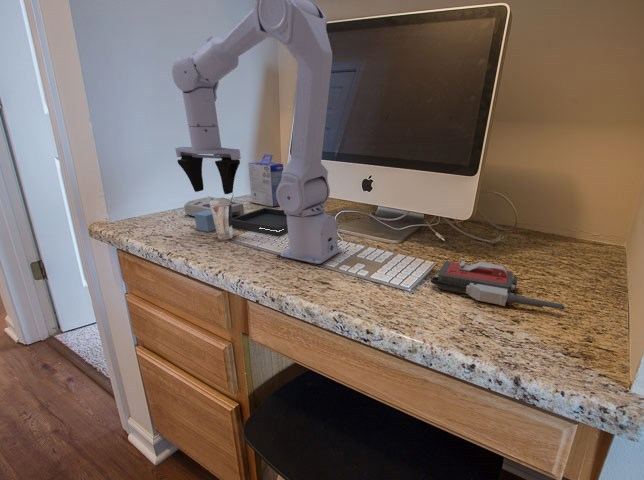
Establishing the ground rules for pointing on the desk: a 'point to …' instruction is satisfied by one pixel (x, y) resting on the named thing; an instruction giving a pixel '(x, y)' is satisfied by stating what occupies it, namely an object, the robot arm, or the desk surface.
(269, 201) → the ink cartridge box
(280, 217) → the tray
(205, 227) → the blue block
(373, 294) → the desk surface
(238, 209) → the handheld gaming device
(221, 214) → the milkshake
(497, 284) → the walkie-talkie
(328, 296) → the desk surface
